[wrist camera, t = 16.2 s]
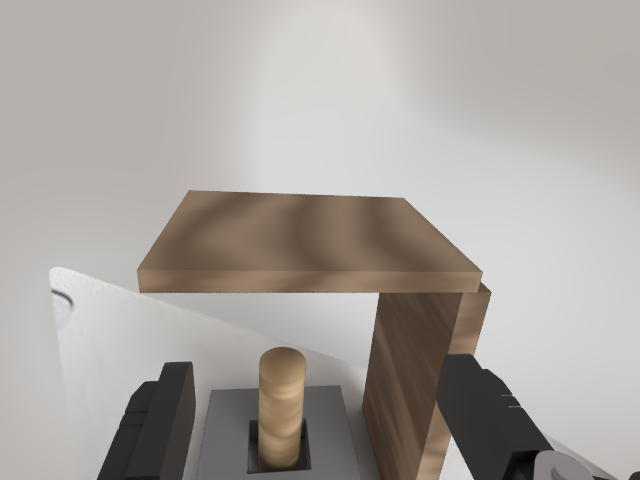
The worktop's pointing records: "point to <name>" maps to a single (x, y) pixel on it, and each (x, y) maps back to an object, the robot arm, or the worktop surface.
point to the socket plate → (243, 425)
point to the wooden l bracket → (339, 277)
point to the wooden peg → (280, 409)
